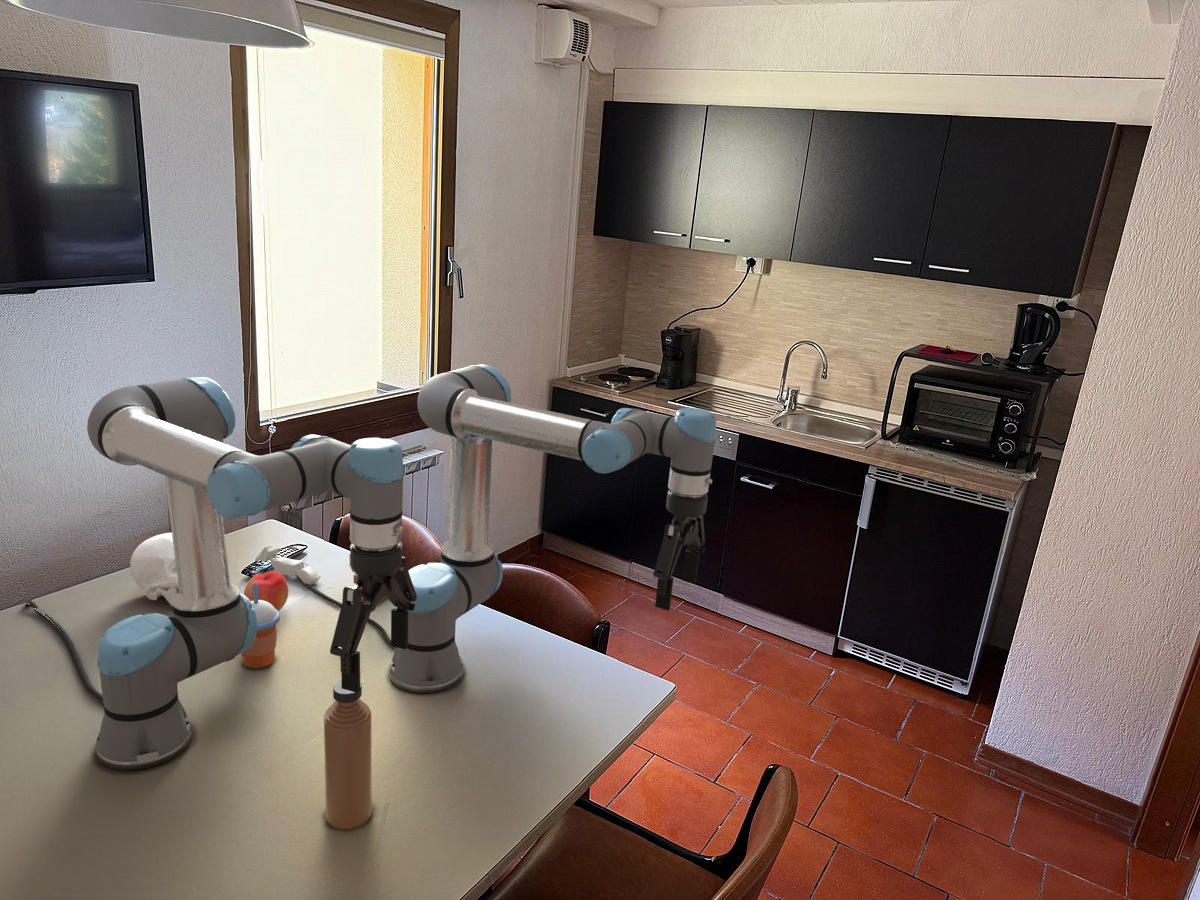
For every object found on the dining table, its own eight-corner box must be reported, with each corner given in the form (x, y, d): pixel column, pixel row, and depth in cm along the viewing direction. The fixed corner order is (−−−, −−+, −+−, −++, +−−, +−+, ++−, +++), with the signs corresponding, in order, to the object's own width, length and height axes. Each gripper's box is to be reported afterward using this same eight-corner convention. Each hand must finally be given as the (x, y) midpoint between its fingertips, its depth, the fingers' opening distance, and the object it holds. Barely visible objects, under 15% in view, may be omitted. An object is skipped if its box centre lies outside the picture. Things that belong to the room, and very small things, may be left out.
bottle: (375, 822, 140) (375, 696, 133) (329, 834, 137) (327, 705, 130) (366, 794, 146) (366, 672, 139) (322, 804, 143) (320, 680, 136)
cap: (364, 700, 134) (364, 691, 133) (335, 705, 132) (335, 696, 131) (358, 685, 137) (358, 676, 137) (331, 690, 136) (331, 681, 135)
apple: (273, 600, 207) (272, 562, 204) (297, 613, 202) (296, 575, 199) (237, 614, 200) (234, 575, 197) (261, 628, 194) (259, 588, 191)
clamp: (253, 565, 223) (254, 542, 221) (265, 560, 226) (266, 537, 224) (309, 593, 215) (310, 569, 213) (320, 588, 218) (321, 564, 216)
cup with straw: (265, 675, 177) (262, 597, 172) (226, 667, 178) (221, 589, 173) (289, 653, 185) (287, 578, 180) (251, 646, 187) (248, 571, 182)
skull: (195, 618, 196) (192, 554, 192) (118, 599, 202) (114, 537, 198) (235, 596, 208) (233, 535, 204) (161, 578, 214) (158, 519, 210)
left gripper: (349, 580, 115) (350, 716, 121) (439, 519, 137) (436, 635, 144) (301, 569, 117) (305, 703, 123) (398, 510, 140) (397, 625, 146)
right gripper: (681, 516, 147) (669, 626, 153) (728, 478, 168) (716, 576, 174) (642, 506, 150) (631, 614, 156) (693, 470, 171) (682, 566, 178)
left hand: (376, 667), depth 133 cm, fingers open, 13 cm apart
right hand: (676, 594), depth 165 cm, fingers open, 13 cm apart
